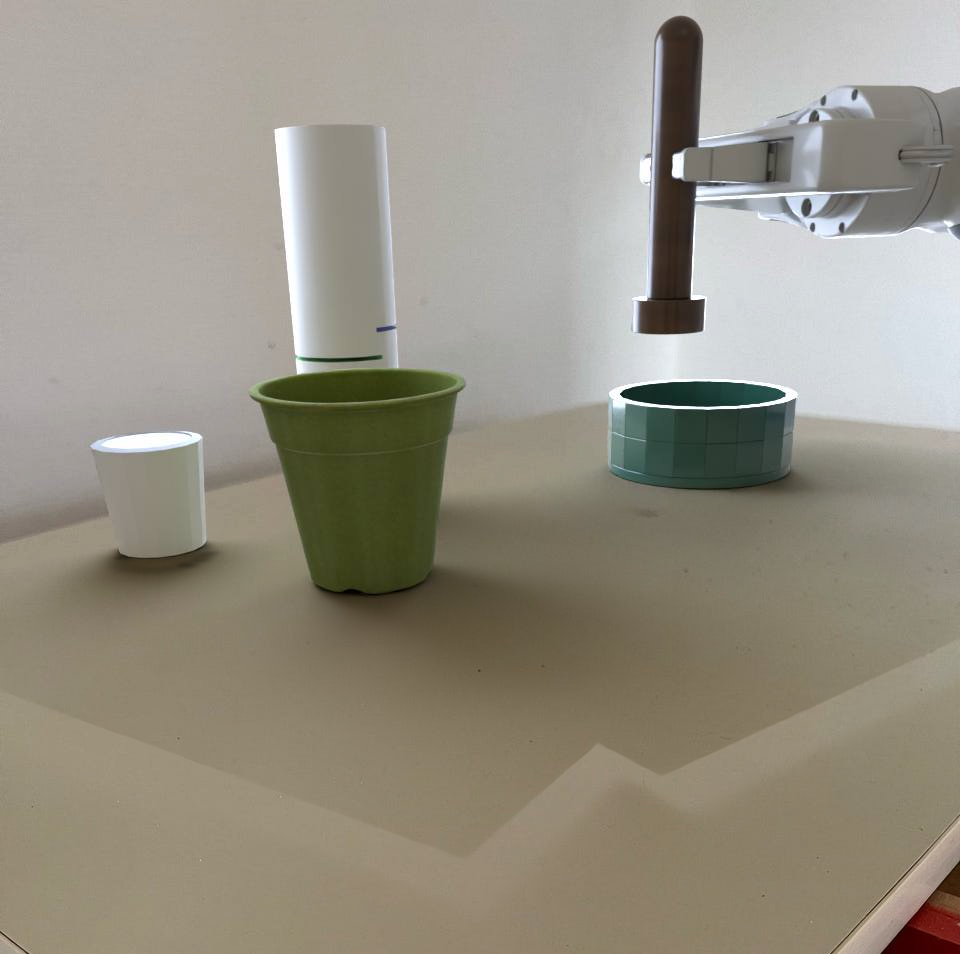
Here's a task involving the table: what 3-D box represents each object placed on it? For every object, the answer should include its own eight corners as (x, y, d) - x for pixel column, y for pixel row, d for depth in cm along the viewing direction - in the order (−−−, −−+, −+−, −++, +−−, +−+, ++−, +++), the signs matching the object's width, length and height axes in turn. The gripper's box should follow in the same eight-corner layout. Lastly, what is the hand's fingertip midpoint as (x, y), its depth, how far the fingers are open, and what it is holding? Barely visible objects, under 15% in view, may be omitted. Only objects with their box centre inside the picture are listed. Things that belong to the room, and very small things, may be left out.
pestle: (666, 325, 69) (677, 25, 62) (719, 329, 65) (737, 12, 59) (616, 331, 66) (622, 19, 59) (669, 336, 63) (682, 5, 56)
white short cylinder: (158, 566, 64) (140, 454, 61) (85, 551, 67) (66, 444, 64) (237, 538, 69) (224, 433, 66) (166, 525, 72) (151, 425, 70)
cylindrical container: (425, 499, 77) (407, 128, 68) (366, 522, 72) (337, 122, 62) (350, 488, 81) (324, 135, 71) (289, 510, 75) (251, 130, 66)
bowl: (690, 441, 94) (694, 374, 92) (827, 467, 83) (835, 392, 81) (571, 466, 86) (572, 393, 84) (705, 499, 75) (710, 416, 73)
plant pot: (227, 590, 59) (201, 391, 55) (359, 537, 68) (346, 363, 64) (388, 627, 53) (374, 407, 49) (510, 564, 62) (507, 373, 58)
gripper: (966, 215, 58) (751, 222, 54) (763, 218, 76) (591, 224, 72) (984, 88, 55) (760, 86, 51) (770, 122, 73) (592, 123, 69)
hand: (660, 167), depth 62 cm, fingers closed on pestle, 3 cm apart
